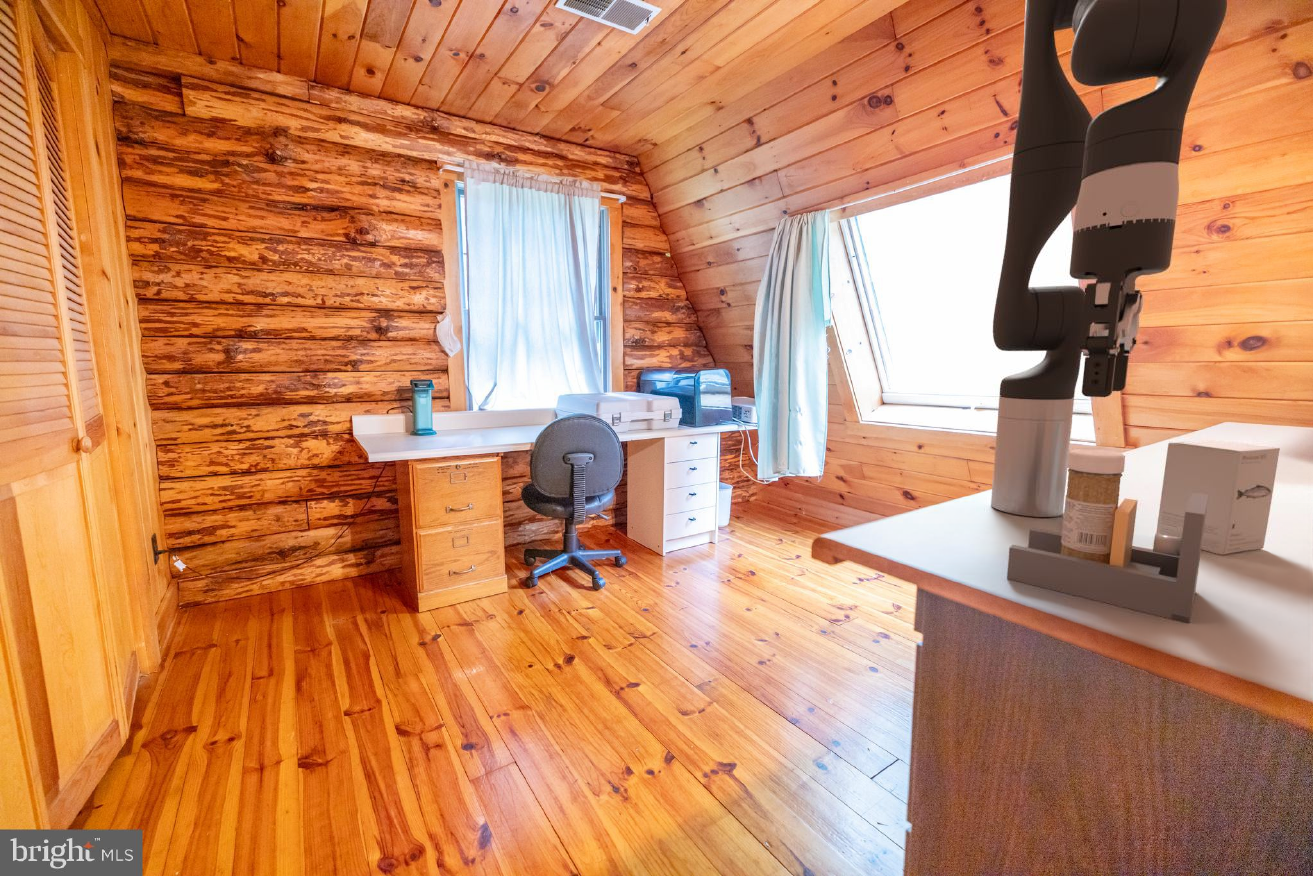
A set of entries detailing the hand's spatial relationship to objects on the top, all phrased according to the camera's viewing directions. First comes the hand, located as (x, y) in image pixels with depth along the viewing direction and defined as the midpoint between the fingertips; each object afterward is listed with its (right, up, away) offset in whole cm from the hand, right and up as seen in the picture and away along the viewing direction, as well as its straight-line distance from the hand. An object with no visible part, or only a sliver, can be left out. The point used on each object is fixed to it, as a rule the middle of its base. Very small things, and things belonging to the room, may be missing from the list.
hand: (1103, 393), depth 55 cm
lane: (+1, -20, +3) cm, 20 cm away
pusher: (+3, -19, 0) cm, 19 cm away
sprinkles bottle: (0, -19, +3) cm, 20 cm away
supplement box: (+24, -18, +14) cm, 33 cm away
